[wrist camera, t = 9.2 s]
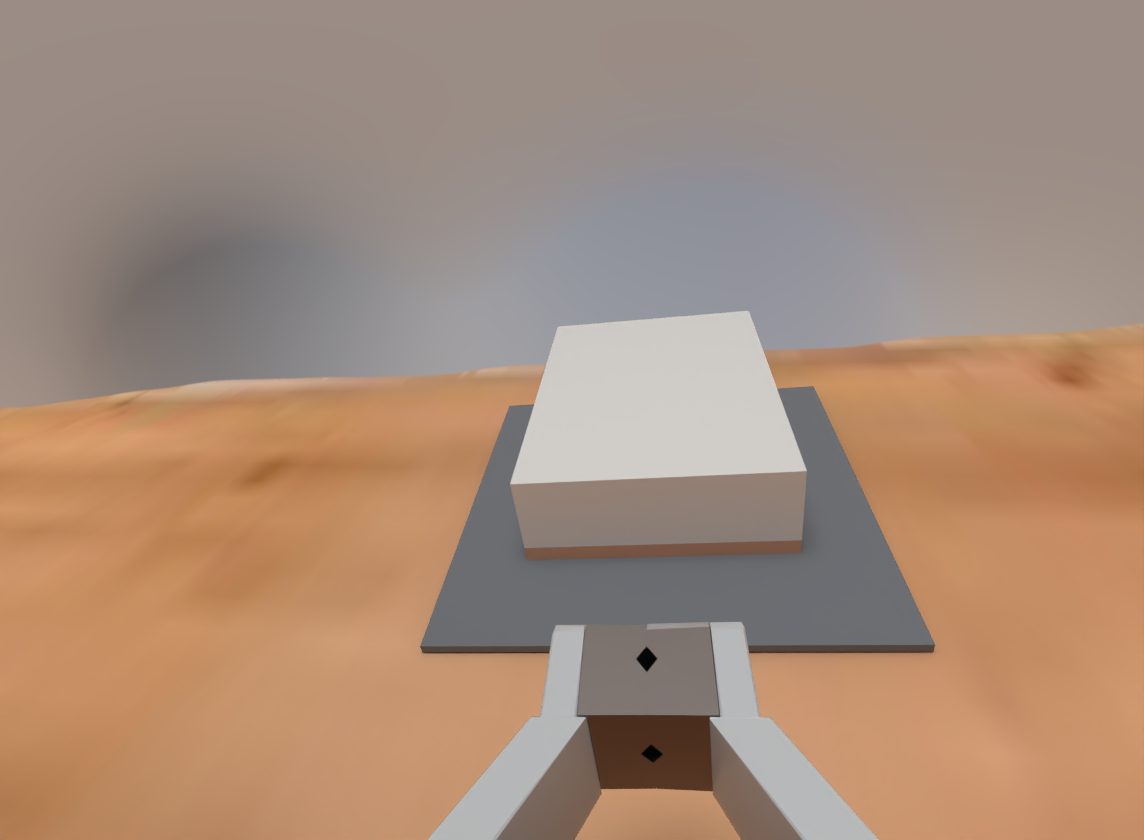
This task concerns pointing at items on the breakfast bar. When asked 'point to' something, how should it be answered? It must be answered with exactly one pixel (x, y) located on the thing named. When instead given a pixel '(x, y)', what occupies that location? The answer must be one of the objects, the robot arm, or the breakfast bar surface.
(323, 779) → the breakfast bar surface
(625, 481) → the white boxy piece
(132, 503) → the breakfast bar surface
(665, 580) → the felt mat
